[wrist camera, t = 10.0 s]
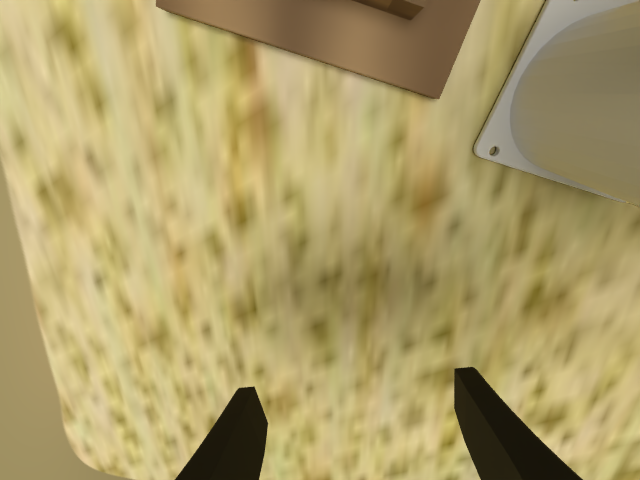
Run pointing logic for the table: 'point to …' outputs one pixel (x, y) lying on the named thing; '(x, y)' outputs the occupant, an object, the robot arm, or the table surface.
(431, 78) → the brown piece
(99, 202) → the table surface
